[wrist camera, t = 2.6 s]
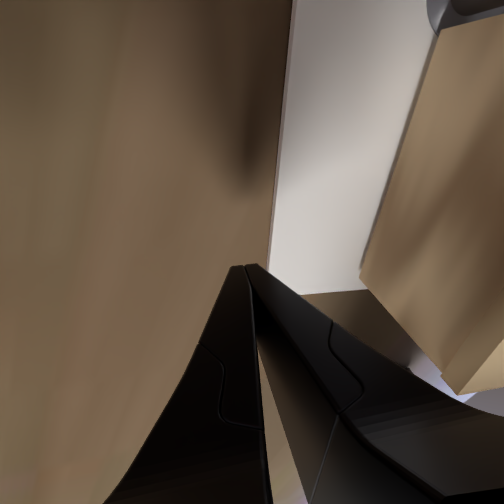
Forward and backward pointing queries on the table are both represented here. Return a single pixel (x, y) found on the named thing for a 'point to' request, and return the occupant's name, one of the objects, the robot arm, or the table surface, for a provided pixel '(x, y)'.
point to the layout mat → (345, 129)
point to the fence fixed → (475, 6)
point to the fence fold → (450, 213)
